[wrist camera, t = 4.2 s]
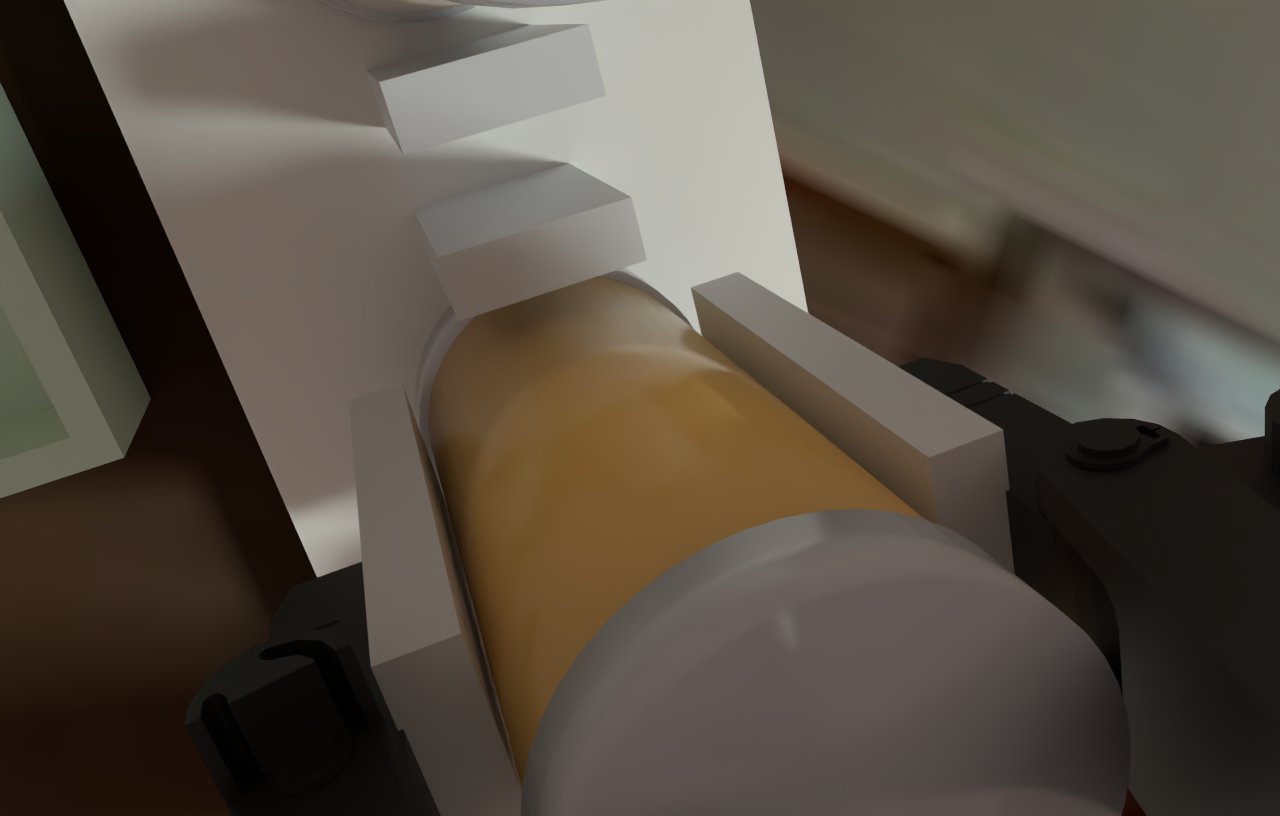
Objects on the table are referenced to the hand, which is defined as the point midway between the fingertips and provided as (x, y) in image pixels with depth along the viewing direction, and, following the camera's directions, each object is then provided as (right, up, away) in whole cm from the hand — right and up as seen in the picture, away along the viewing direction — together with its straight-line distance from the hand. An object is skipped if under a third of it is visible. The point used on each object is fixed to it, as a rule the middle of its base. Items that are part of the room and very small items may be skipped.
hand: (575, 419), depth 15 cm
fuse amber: (0, 0, +1) cm, 1 cm away
